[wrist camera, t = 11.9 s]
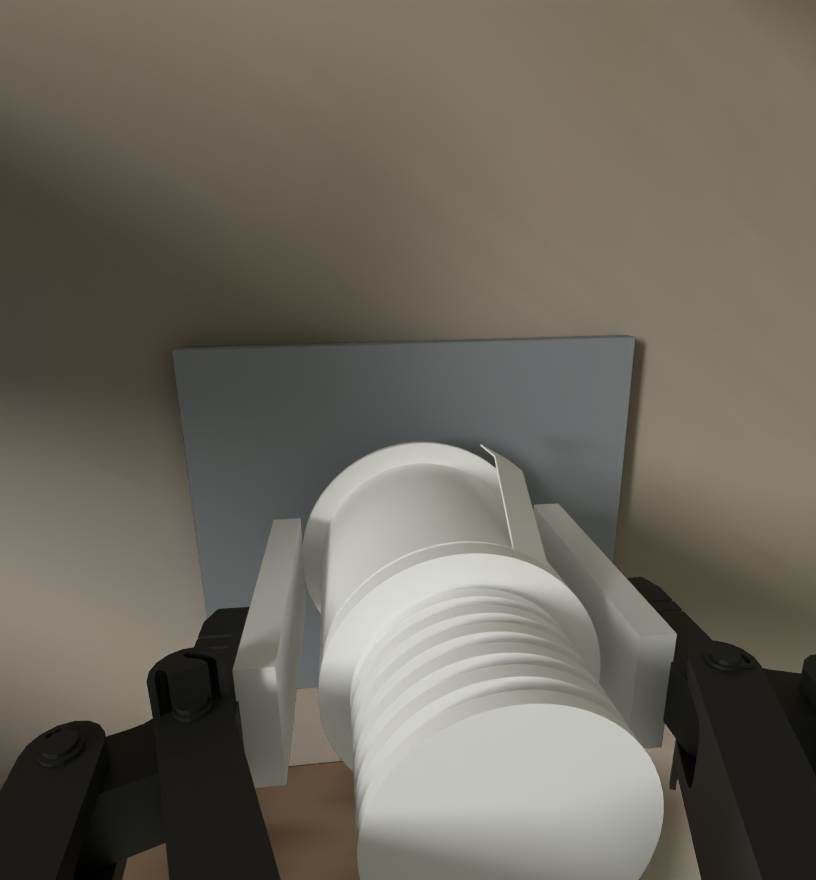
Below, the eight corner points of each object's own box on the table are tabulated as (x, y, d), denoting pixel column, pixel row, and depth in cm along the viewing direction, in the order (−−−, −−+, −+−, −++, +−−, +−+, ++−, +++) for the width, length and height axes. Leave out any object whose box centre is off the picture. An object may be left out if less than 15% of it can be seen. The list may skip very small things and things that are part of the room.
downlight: (445, 690, 19) (557, 1077, 10) (254, 607, 18) (165, 975, 8) (575, 490, 18) (847, 710, 9) (382, 382, 17) (454, 505, 7)
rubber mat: (220, 683, 21) (217, 695, 20) (177, 347, 17) (171, 350, 17) (597, 652, 22) (603, 663, 21) (626, 335, 19) (635, 337, 18)
